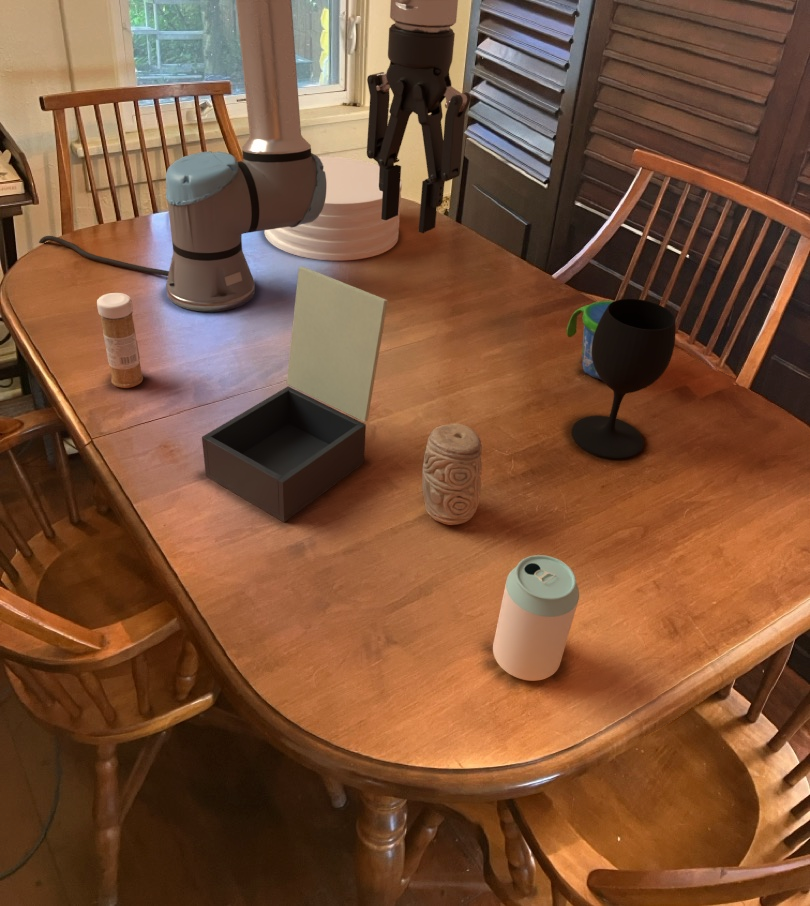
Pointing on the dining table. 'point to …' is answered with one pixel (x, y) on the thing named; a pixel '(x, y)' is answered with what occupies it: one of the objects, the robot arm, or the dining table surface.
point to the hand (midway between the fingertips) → (408, 222)
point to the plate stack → (343, 217)
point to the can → (535, 617)
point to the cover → (335, 342)
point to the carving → (452, 473)
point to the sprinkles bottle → (120, 339)
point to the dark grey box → (284, 452)
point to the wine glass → (625, 371)
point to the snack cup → (588, 332)
